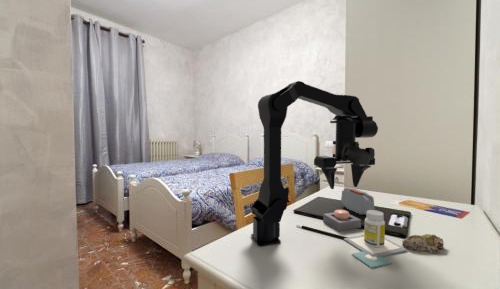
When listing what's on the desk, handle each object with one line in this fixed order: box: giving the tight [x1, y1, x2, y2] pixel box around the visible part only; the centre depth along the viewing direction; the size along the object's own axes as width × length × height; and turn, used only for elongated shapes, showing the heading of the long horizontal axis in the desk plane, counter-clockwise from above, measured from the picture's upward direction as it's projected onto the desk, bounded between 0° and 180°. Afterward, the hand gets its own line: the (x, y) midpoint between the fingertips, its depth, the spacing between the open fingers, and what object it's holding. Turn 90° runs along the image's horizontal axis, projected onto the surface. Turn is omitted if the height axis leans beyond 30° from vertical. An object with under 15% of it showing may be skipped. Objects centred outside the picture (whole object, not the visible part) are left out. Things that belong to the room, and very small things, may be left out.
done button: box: [333, 209, 350, 221], centre depth 77 cm, size 4×4×2 cm
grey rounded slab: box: [340, 187, 375, 215], centre depth 89 cm, size 14×3×8 cm, turn 20°
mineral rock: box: [402, 233, 445, 254], centre depth 64 cm, size 11×4×8 cm
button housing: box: [322, 212, 362, 232], centre depth 77 cm, size 8×8×2 cm
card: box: [351, 251, 393, 269], centre depth 57 cm, size 6×6×1 cm
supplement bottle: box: [363, 210, 386, 247], centre depth 64 cm, size 5×5×8 cm
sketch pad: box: [343, 234, 408, 257], centre depth 64 cm, size 11×10×1 cm
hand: (343, 187), depth 76 cm, fingers open, 8 cm apart
